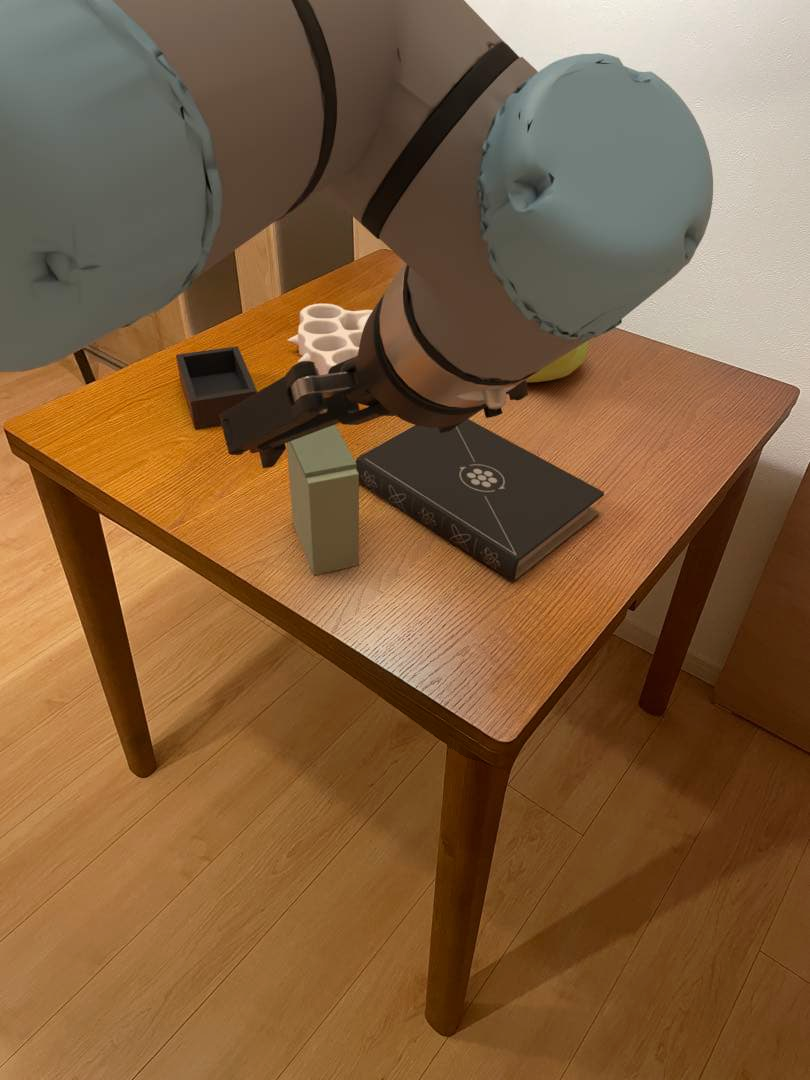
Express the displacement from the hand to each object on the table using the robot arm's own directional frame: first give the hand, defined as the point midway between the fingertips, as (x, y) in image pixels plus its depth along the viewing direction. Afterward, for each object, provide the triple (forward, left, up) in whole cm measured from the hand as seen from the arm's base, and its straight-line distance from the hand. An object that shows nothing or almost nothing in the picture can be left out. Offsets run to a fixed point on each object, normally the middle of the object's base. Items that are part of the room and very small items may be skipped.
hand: (354, 431), depth 58 cm
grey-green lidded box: (0, +10, -20) cm, 22 cm away
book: (+17, +12, -20) cm, 29 cm away
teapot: (+35, +35, -20) cm, 53 cm away
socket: (-5, +39, -20) cm, 44 cm away
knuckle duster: (+13, +45, -20) cm, 51 cm away
